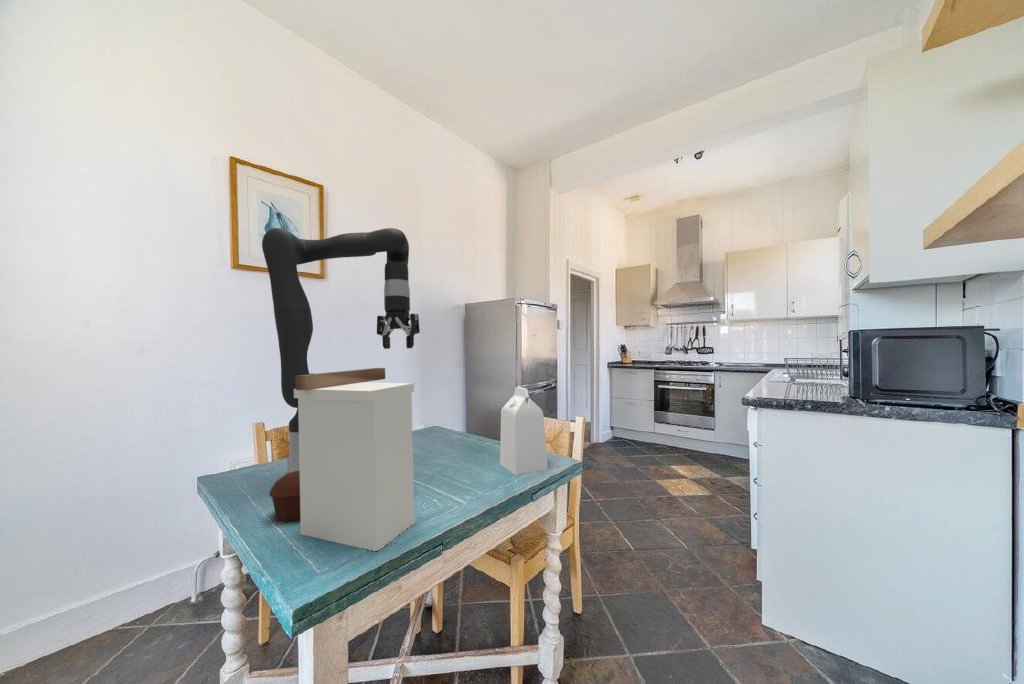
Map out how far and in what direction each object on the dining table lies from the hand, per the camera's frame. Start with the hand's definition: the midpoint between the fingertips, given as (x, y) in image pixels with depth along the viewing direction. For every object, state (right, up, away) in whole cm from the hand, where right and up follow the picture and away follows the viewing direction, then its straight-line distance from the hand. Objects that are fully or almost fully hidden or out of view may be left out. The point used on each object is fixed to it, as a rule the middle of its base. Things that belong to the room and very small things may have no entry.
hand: (398, 348), depth 111 cm
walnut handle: (-5, -8, -24) cm, 26 cm away
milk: (+39, -40, +9) cm, 56 cm away
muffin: (-18, -41, -22) cm, 50 cm away
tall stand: (+1, -40, -30) cm, 50 cm away
